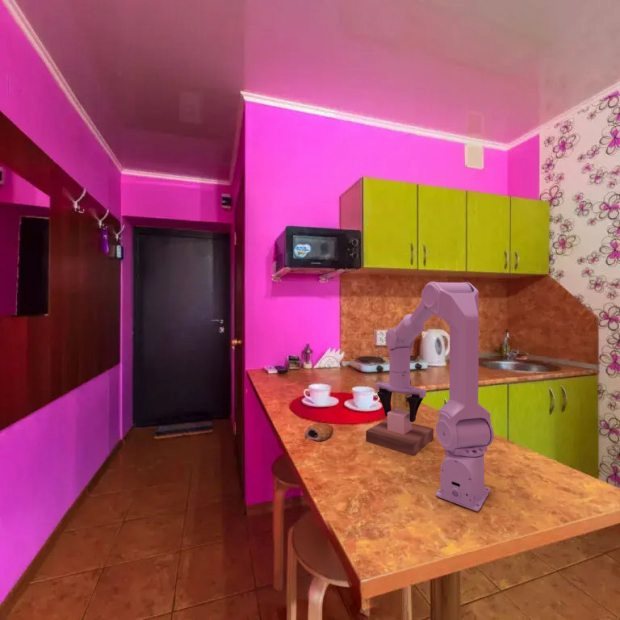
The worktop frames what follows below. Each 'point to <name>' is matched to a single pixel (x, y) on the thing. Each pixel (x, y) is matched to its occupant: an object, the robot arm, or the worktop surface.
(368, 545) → the worktop surface
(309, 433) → the pastry
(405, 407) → the sauce bottle
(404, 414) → the cube
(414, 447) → the base
